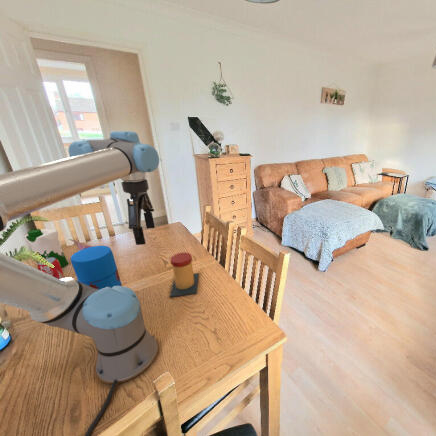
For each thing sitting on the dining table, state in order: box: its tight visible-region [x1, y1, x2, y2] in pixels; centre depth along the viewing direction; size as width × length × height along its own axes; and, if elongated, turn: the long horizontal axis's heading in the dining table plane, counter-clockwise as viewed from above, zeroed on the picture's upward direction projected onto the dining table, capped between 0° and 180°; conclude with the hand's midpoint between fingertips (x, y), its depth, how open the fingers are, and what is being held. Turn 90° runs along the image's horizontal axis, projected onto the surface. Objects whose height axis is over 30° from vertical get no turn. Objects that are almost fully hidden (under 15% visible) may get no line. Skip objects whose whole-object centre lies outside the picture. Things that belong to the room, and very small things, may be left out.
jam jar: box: [171, 260, 195, 289], centre depth 102 cm, size 8×8×13 cm
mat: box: [169, 272, 200, 298], centre depth 104 cm, size 14×10×1 cm
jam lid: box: [169, 252, 193, 267], centre depth 99 cm, size 8×8×2 cm
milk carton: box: [23, 228, 69, 269], centre depth 108 cm, size 9×9×20 cm
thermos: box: [70, 245, 123, 290], centre depth 84 cm, size 11×11×25 cm
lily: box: [68, 238, 93, 251], centre depth 121 cm, size 12×12×10 cm
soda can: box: [37, 257, 66, 279], centre depth 99 cm, size 6×6×12 cm
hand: (146, 235), depth 89 cm, fingers open, 13 cm apart
